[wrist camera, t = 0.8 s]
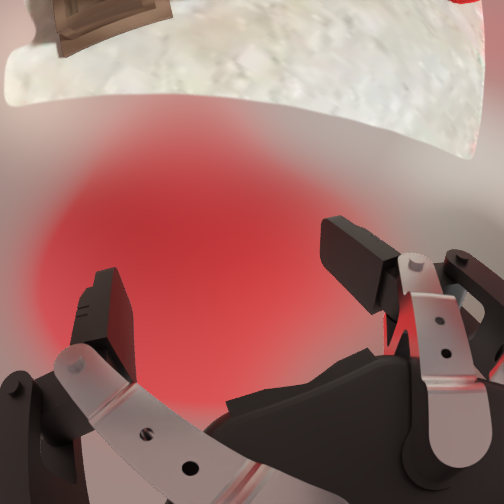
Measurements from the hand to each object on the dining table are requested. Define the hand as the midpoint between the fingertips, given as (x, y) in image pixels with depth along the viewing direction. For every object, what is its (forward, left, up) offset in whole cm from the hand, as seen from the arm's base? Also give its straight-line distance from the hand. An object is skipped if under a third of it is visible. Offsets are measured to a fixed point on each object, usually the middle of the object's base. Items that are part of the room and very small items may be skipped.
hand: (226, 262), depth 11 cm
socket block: (-23, -5, -25) cm, 34 cm away
